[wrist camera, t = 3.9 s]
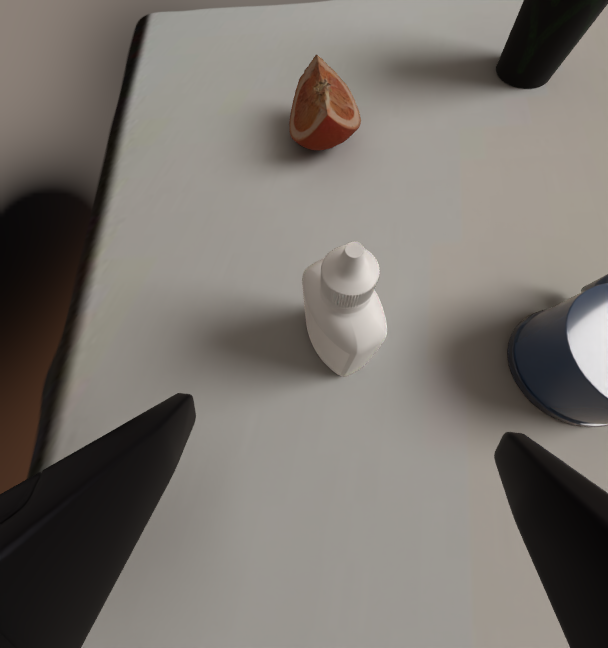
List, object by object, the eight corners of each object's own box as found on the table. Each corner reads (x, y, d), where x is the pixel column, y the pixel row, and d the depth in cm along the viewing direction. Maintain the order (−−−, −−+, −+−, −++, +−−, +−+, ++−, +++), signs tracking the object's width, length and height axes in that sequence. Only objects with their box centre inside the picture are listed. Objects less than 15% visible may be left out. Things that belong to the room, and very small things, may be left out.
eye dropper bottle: (306, 378, 21) (293, 323, 9) (306, 307, 23) (295, 190, 11) (366, 377, 21) (426, 321, 9) (361, 306, 22) (406, 186, 11)
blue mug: (631, 447, 18) (739, 455, 14) (498, 398, 20) (555, 390, 15) (635, 310, 21) (725, 278, 17) (519, 276, 23) (572, 237, 18)
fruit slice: (288, 112, 30) (282, 54, 26) (351, 105, 30) (357, 46, 25) (293, 171, 27) (288, 119, 23) (362, 164, 27) (372, 111, 23)
